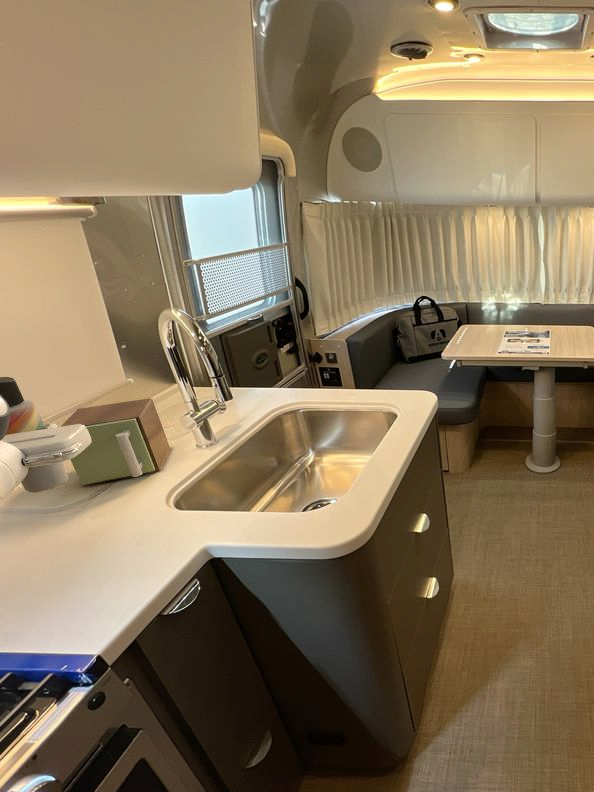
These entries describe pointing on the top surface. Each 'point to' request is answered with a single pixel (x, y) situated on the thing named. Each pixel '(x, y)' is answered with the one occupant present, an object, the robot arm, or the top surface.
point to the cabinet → (124, 411)
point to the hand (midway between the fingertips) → (25, 431)
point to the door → (113, 453)
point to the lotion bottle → (27, 420)
